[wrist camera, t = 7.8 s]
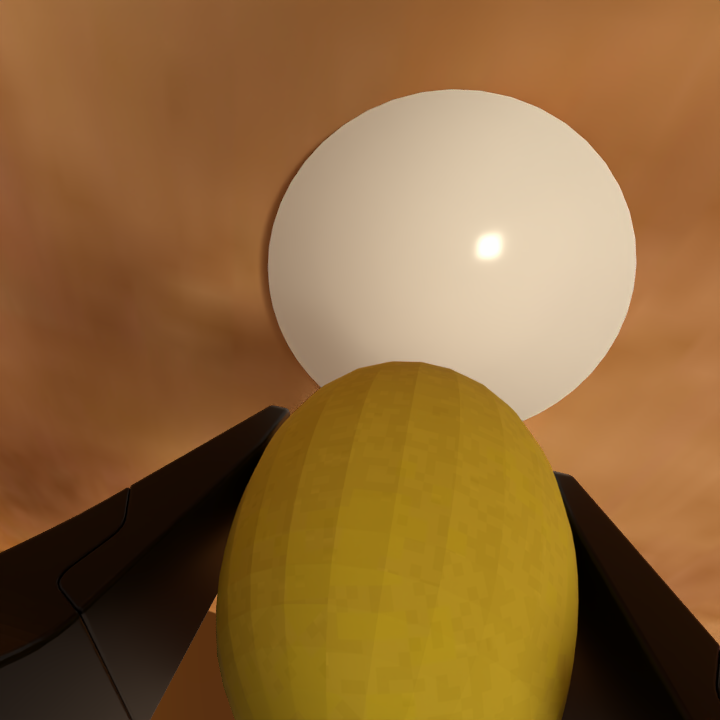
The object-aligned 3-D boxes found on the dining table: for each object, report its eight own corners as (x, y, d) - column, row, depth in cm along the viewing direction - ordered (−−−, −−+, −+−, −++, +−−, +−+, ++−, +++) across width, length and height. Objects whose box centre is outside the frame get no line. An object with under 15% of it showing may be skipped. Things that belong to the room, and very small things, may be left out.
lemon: (444, 504, 12) (420, 966, 6) (285, 410, 12) (52, 799, 5) (589, 384, 9) (892, 1052, 3) (385, 251, 9) (140, 681, 2)
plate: (708, 121, 13) (726, 122, 12) (547, 450, 20) (551, 465, 19) (278, 66, 14) (266, 62, 14) (275, 388, 22) (268, 399, 21)
